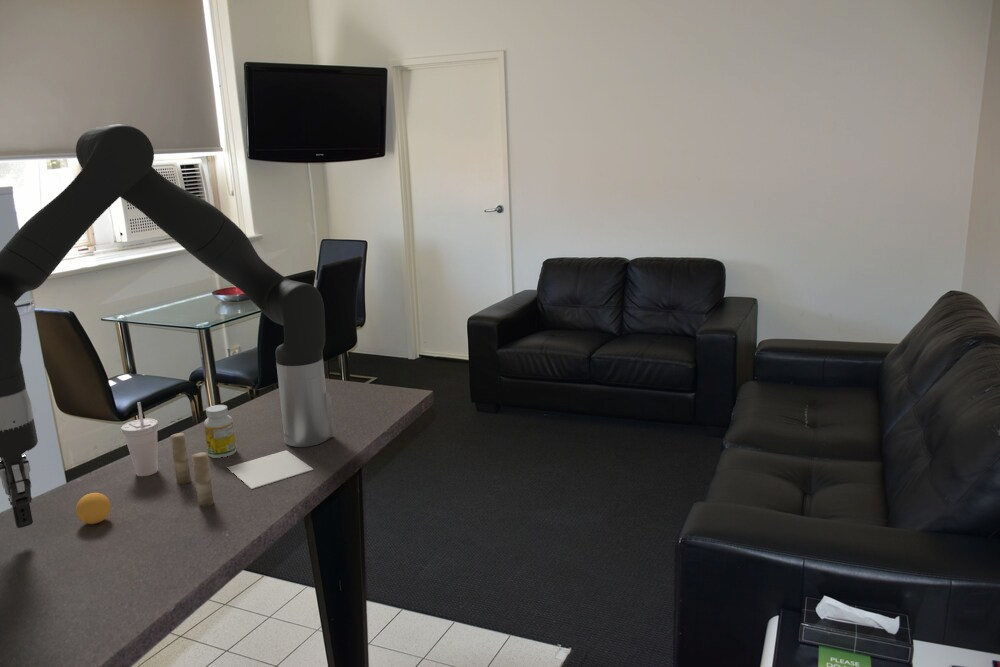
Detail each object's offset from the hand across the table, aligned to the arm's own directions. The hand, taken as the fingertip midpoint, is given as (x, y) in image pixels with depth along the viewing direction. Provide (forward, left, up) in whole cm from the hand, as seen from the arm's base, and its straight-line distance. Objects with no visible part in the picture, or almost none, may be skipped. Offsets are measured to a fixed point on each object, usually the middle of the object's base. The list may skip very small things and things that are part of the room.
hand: (24, 524), depth 117 cm
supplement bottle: (-36, -14, -3) cm, 38 cm away
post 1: (-26, -6, -3) cm, 27 cm away
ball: (-10, 0, -1) cm, 10 cm away
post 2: (-26, +6, -3) cm, 27 cm away
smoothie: (-22, -15, -3) cm, 27 cm away
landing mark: (-40, 0, -3) cm, 40 cm away
